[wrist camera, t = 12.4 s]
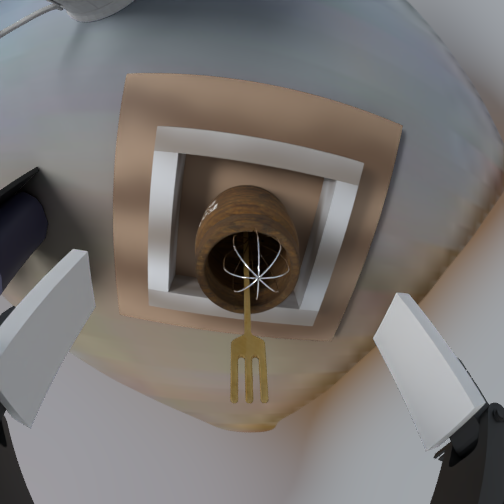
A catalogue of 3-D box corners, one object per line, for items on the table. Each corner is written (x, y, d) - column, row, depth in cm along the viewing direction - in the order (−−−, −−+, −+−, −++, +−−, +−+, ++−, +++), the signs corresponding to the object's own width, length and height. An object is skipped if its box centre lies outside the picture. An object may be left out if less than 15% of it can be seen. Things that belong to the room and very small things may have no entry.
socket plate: (132, 76, 15) (111, 67, 12) (394, 125, 17) (421, 127, 14) (123, 306, 23) (110, 332, 20) (328, 333, 26) (338, 359, 22)
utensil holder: (290, 183, 18) (360, 268, 7) (283, 265, 21) (320, 399, 10) (202, 181, 18) (145, 265, 7) (205, 264, 20) (176, 400, 10)
